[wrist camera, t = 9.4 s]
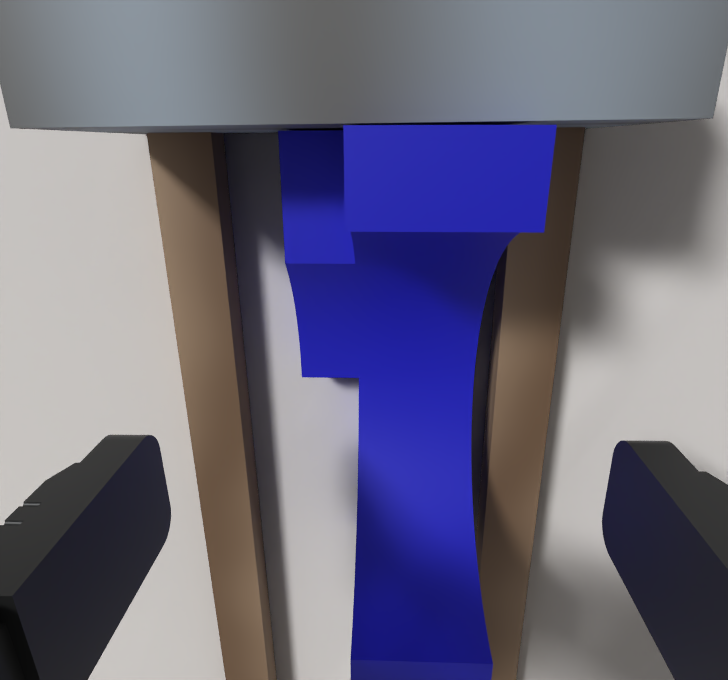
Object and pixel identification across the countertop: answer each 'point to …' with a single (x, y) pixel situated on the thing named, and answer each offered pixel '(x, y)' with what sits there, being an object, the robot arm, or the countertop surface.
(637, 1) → the guide channel
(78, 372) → the countertop surface
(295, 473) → the countertop surface
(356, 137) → the cable clip
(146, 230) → the countertop surface
